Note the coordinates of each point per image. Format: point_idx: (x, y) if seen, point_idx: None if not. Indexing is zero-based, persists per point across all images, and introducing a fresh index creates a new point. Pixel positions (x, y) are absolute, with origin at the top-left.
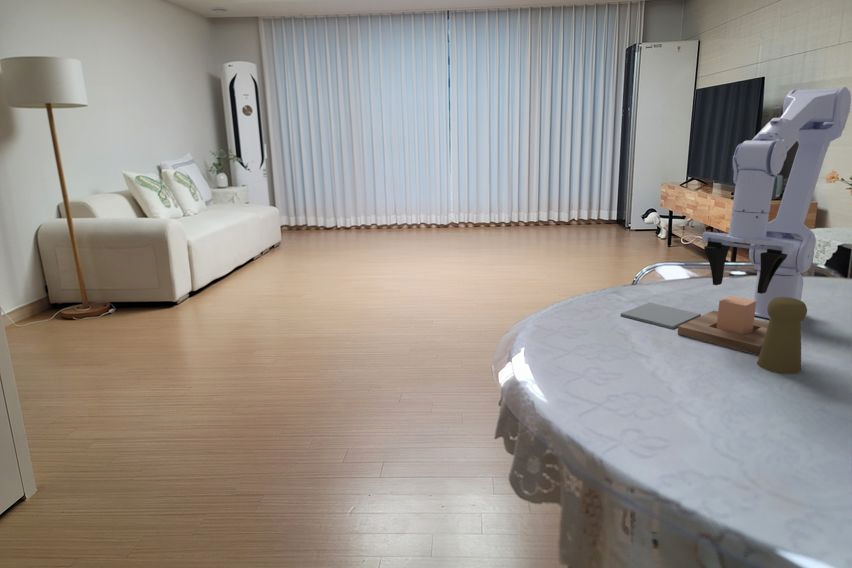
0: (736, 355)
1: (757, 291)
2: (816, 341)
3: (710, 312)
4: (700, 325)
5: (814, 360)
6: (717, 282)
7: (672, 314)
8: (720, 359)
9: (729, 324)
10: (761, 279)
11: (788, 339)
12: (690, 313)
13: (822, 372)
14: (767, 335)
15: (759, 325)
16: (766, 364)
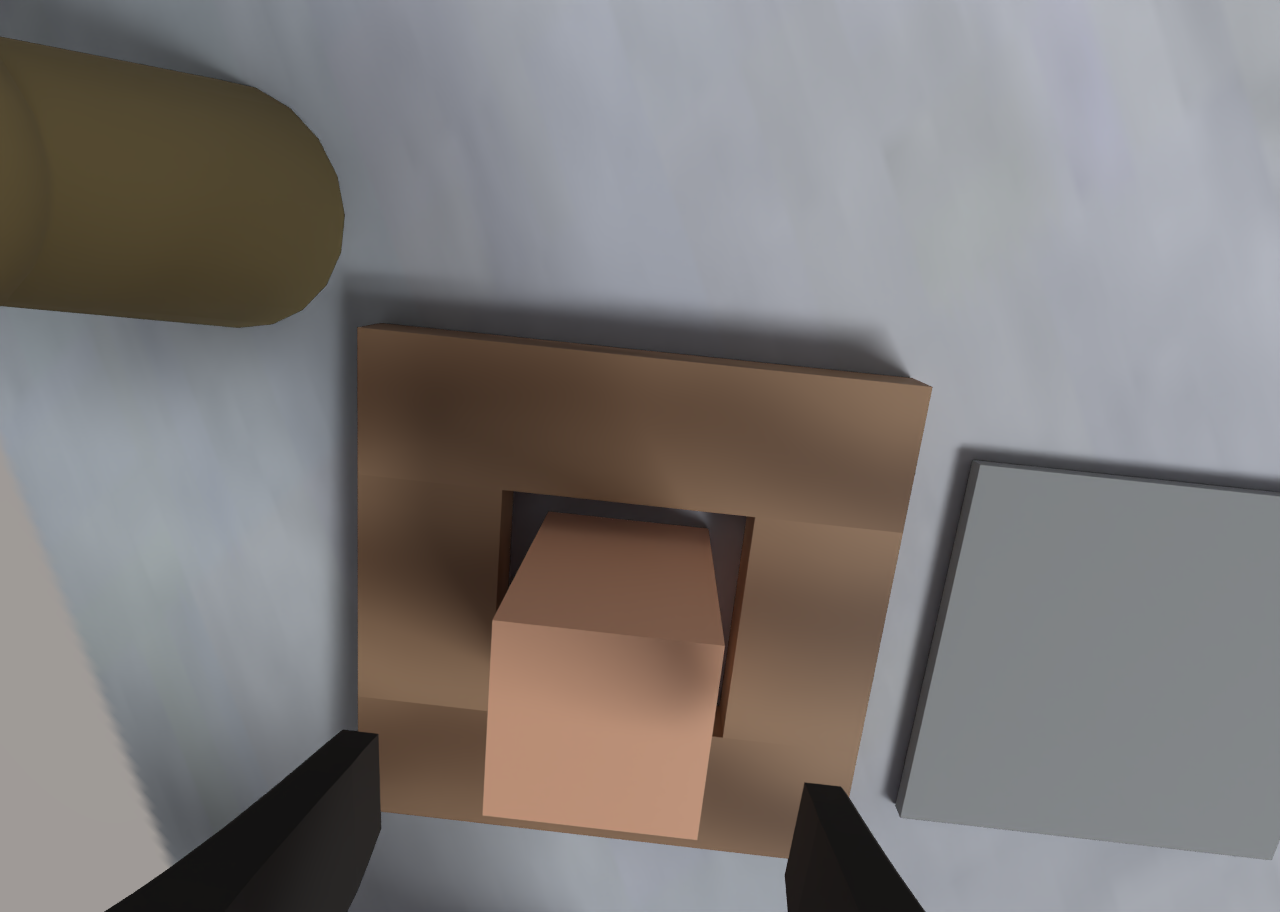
0: (474, 222)
1: (370, 739)
2: (251, 755)
3: None
4: (805, 503)
5: (138, 444)
6: (806, 819)
7: (1057, 705)
8: (520, 69)
9: (624, 553)
10: (261, 829)
11: None
12: (960, 791)
13: None
14: (148, 100)
15: None
16: (239, 87)
